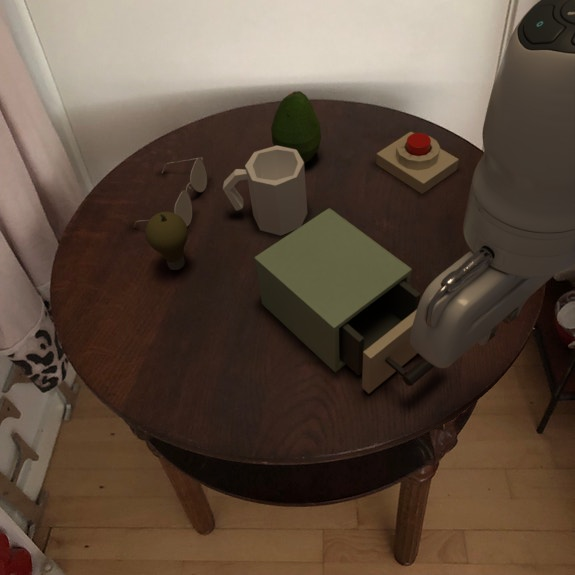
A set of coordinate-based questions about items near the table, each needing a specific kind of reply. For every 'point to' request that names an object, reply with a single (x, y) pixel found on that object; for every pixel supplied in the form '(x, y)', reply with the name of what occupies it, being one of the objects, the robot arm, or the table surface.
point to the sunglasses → (198, 184)
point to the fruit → (297, 126)
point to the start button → (418, 144)
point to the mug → (272, 189)
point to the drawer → (383, 339)
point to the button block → (417, 164)
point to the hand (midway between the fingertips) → (493, 326)
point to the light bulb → (168, 237)
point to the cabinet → (325, 280)
